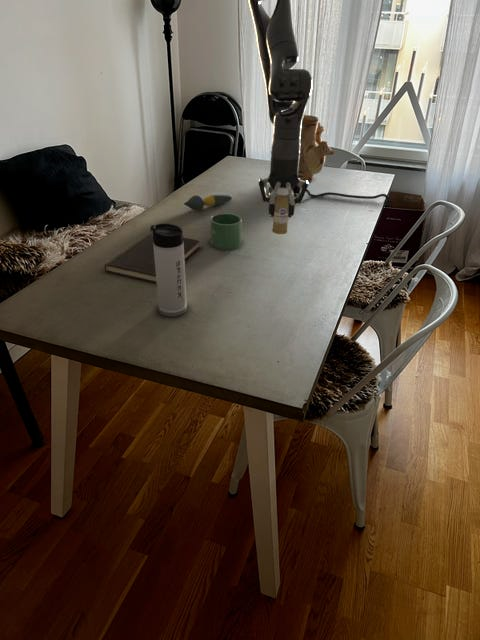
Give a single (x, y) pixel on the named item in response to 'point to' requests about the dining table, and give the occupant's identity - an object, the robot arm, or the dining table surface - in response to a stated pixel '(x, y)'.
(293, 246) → the dining table surface
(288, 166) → the robot arm
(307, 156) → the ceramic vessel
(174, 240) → the travel mug
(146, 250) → the hardcover book
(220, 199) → the paintbrush
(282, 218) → the sprinkles bottle
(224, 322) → the dining table surface
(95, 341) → the dining table surface
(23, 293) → the dining table surface
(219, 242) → the cup
